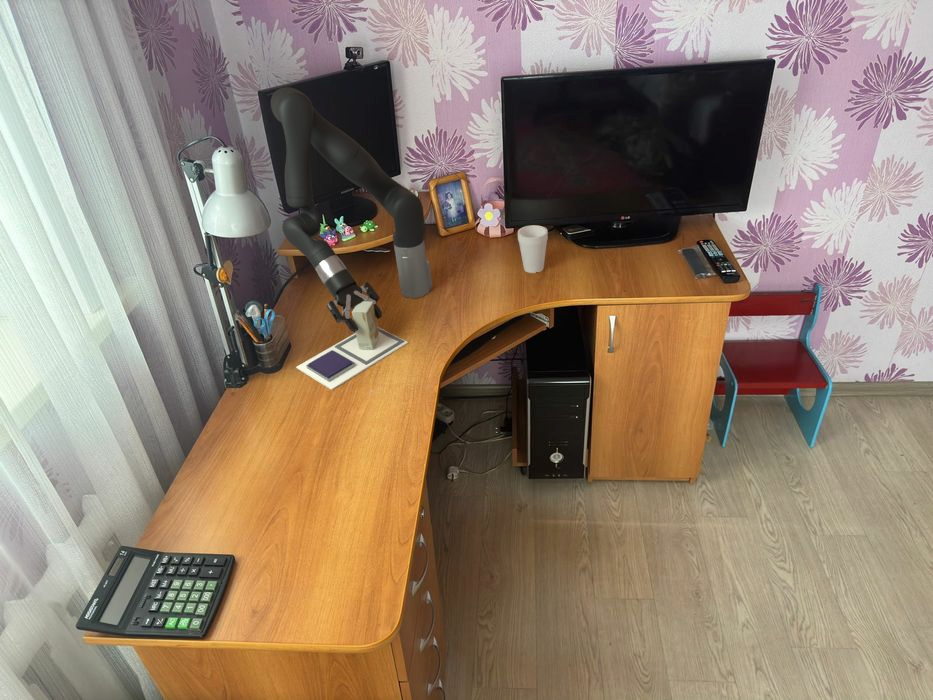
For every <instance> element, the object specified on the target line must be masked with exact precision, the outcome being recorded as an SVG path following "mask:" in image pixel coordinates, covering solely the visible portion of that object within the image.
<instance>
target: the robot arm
mask: <svg viewBox="0 0 933 700" xmlns="http://www.w3.org/2000/svg"><path fill="white" fill-rule="evenodd" d="M270 109H271V111H272V114H273V116H274V117H275V118H276V120H277V121H278V122H280V123H281V125H282V126H281V127H282V130H283V133H284V138H285V144H286V145H285V147H286V149H285V150H286V156H285V166H284V187H285V200H286V204H287V205H288V206H289V207H290V208H293V209H299V213H298V214H295V215H291V216H288V217H287V218H285V219H284V220H283V222H282V225H281V226H282V227H281V229H282V232H283V235H284V237H285V239H286V240H287V241H288V242H289V243H290V244H291V245H292V246H293V247H294V248H295V249H297V250H298V251H299V252H300V253H301V254H302V255H303V256H305V257H306V258H307V260H308V261H309V262H310V264H311V265H312V267H313V268H314V270H315V271H316V273H317V275H318V277H319V278H320V280H321V282H322V283H323V284H324V286H325V288H326V289H327V290H328V292H329V293H330V294H331V296H332V297H333V298H334V300H330V301H329V302H328V303H327V305H326V307H327V309H328V310H329V312H330V314H331V316H332V317H333V319H334V321H335V322H336V323H337V324H339V323H344V324H346V327H347V328H348V329H349V330H350V331H351V332H353V334H355V333H356V331H357V330H358V327H357V326H356V324H355V323H354V321H353V317H351V316H350V315H351V313H350V312H351V310H352V309H354V308H355V306H356V305H357V304H359V303H361V302H362V301H368V302H373V305H374V310H375V316H376V320H379V319H381V318H382V316H383V311H382V310H381V309H380V307H379V306H378V304H377V303H378V301H379V300H380V296H379V295H378V293H377V292H376V291H375V289H374V288H373V286H372V285H371V284H370V282H368V281H367V282H366V281H365V282H364V284H363V285H361V286H360V285H358V283H357V281H356V280H355V278H354V277H353V275H352V274H351V272H350V271H349V270H348V268H347V266H346V265H345V264H344V262H343V260H341V259H340V257H338V255H337V254H336V252H335V251H334V250H333V247H332V246H331V245H330V243H328V241H327V240H325V239H314V238H313V237H315V236H317V235H318V234H319V233H320V230H321V218H320V215H319V213H318V209H317V206H316V204H315V202H314V198H313V196H314V195H313V183H312V182H313V181H312V167H311V145H312V147H313V148H314V149H315V150H316V151H317V152H318V153H319V154H320V155H321V156H322V157H323V159H325V160H326V162H328V164H330V165H331V166H332V168H334V169H335V170H337V172H338V173H340V175H342V176H344V177H345V179H347V180H349V181H350V182H351V183H353V184H354V185H356V186H357V187H359V188H361V189H363V190H365V191H366V192H368V193H369V194H370V195H371V196H372V197H374V199H376V201H377V202H378V203H379V204H380V205H381V206H382V207H383V209H385V210H386V212H387V214H389V216H391V217H392V218H393V221H394V229H395V230H394V233H393V234H392V242H393V248H394V255H395V261H396V262H395V263H396V267H397V274H398V279H399V280H398V281H399V286H400V292H401V295H402V296H403V297H406V298H409V299H416V298H421V297H425V296H426V295H428V294H429V293H430V292H431V289H433V280H432V274H431V273H432V272H431V265H430V260H428V259H427V253H426V246H425V238H424V235H425V232H426V231H425V229H426V228H425V227H426V226H425V216H424V215H425V214H424V207H423V203H422V201H421V199H420V198H419V197H418V196H417V195H416V194H415V193H414V192H413V191H412V190H410V189H408V188H406V187H405V186H403V185H402V184H400V183H399V182H397V181H396V180H395V179H394V178H392V177H391V176H390V175H388V174H387V173H386V172H385V171H384V170H383V169H382V167H381V166H380V165H379V163H378V162H377V161H376V159H374V157H372V155H371V154H370V153H369V152H368V151H367V150H366V149H365V148H364V147H363V146H361V145H360V144H359V143H358V142H357V141H356V140H355V139H353V138H352V137H350V136H349V135H348V134H346V133H345V132H344V131H343V130H341V129H339V128H338V127H336V126H335V125H334V124H332V123H330V122H329V121H328V120H326V119H325V118H324V117H323V116H322V115H321V114H320V113H319V112H318V111H317V110H316V109H315V108H314V107H313V103H312V101H311V100H310V98H309V97H308V96H307V95H306V94H305V93H303V92H301V91H300V90H299V89H297V88H293V87H288V86H286V87H280V88H278V89H276V90H275V91H274V93H273V94H272V96H271V98H270ZM363 292H364V293H365V294H363ZM338 306H341V307H342V310H341V312H340V310H339V308H338Z"/></svg>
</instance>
